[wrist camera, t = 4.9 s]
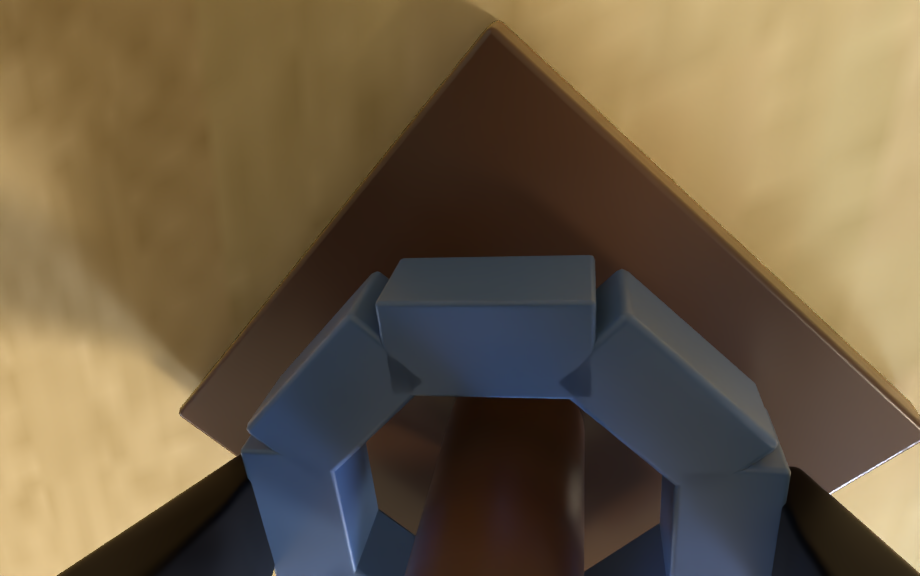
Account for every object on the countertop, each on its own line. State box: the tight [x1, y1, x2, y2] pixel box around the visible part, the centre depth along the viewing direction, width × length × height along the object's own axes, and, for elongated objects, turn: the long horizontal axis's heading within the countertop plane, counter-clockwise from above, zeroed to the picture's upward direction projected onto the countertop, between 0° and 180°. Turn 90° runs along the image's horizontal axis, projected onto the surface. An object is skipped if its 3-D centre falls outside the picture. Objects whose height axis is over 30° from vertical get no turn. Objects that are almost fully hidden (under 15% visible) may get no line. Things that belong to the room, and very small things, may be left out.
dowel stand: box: [179, 20, 920, 576], centre depth 8 cm, size 8×8×6 cm
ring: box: [241, 255, 791, 576], centre depth 9 cm, size 6×6×1 cm
